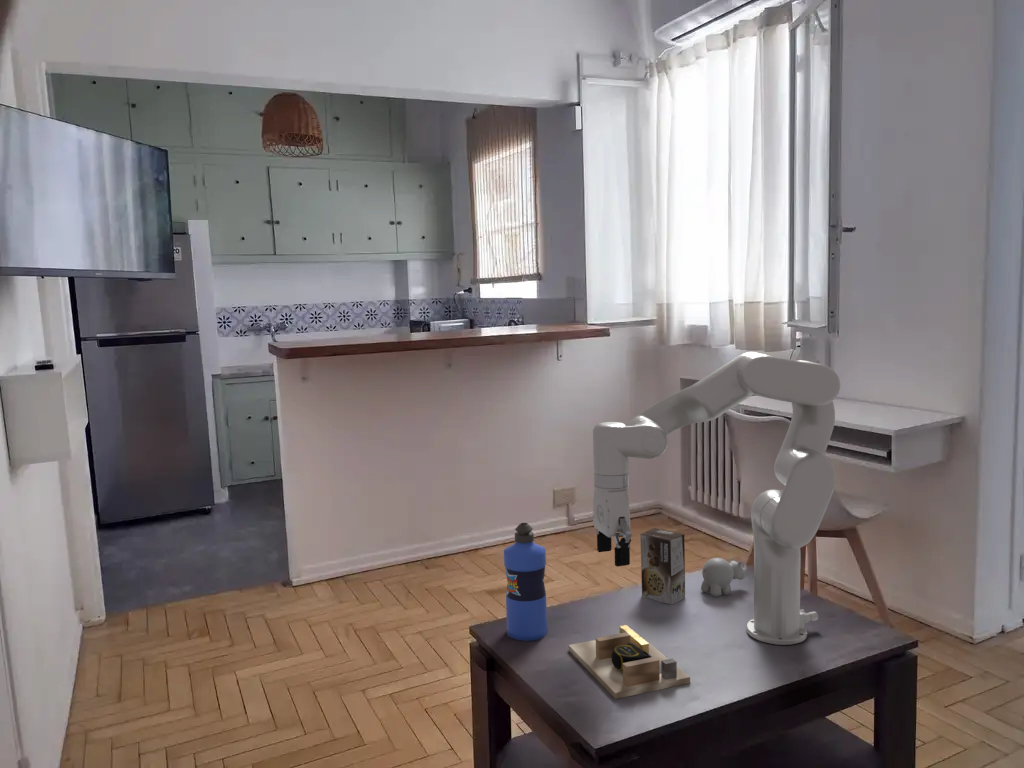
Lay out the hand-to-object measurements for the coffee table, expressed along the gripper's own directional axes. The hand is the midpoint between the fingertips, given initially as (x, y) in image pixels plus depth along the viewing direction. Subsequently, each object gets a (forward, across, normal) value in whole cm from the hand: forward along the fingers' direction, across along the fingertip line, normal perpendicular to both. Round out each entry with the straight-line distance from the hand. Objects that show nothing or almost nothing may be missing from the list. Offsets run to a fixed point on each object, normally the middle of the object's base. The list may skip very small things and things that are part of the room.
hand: (613, 558), depth 172 cm
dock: (+18, +12, -3) cm, 22 cm away
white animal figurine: (+18, -16, +37) cm, 44 cm away
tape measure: (+17, +15, -3) cm, 23 cm away
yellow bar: (+16, +7, +1) cm, 18 cm away
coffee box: (+18, -18, +21) cm, 33 cm away
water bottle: (+18, -10, -17) cm, 27 cm away
